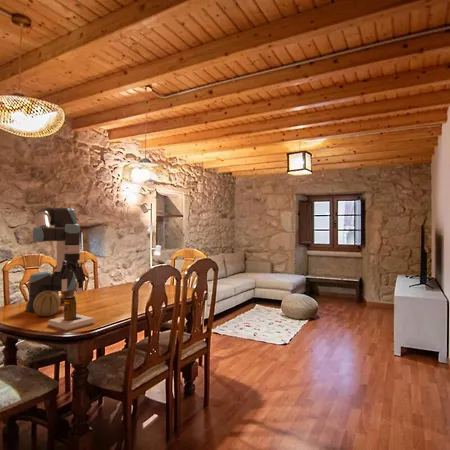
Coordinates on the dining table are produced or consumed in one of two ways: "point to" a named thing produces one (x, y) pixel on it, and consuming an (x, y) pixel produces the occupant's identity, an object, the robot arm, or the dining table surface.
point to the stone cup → (68, 293)
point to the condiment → (70, 309)
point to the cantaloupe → (46, 303)
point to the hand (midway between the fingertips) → (71, 292)
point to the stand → (71, 323)
